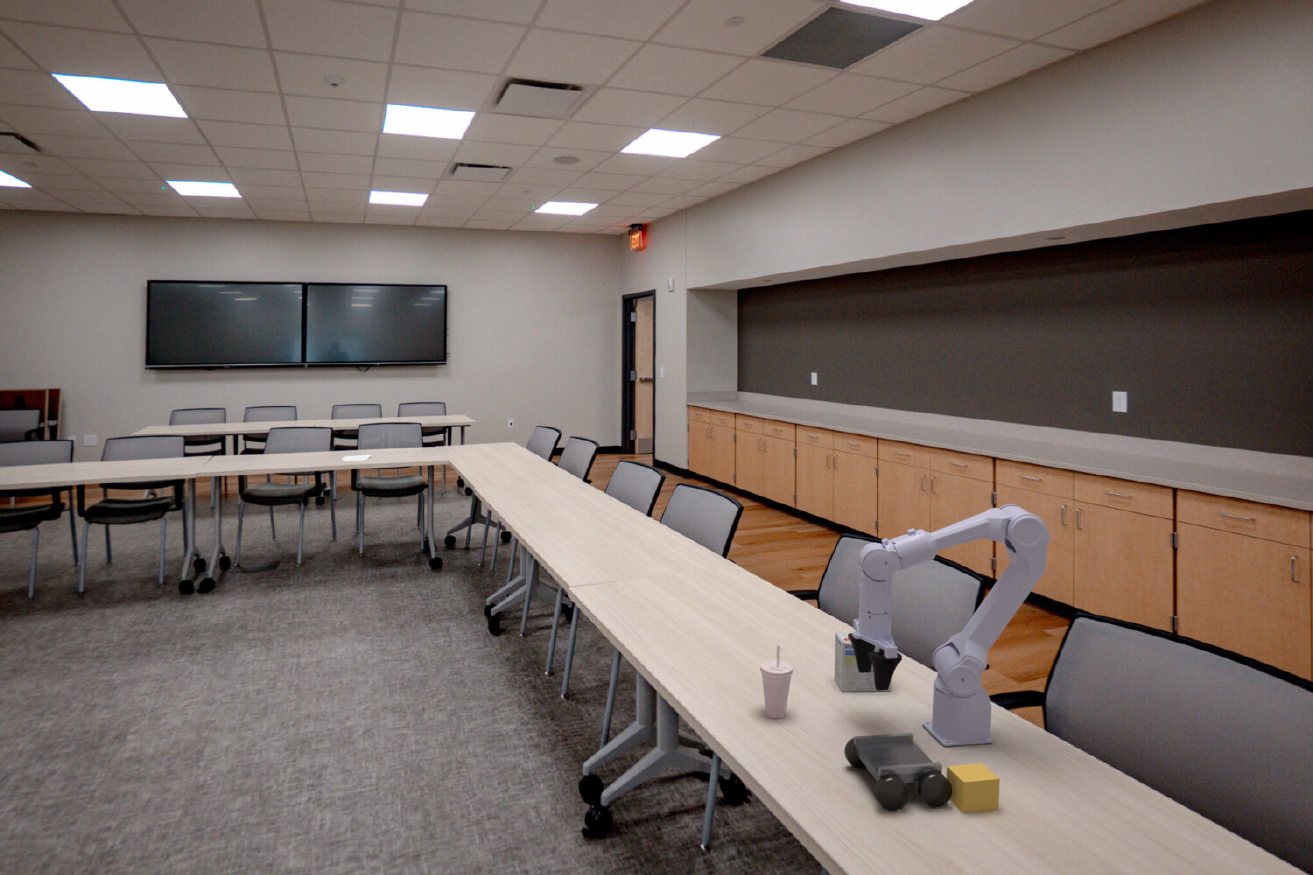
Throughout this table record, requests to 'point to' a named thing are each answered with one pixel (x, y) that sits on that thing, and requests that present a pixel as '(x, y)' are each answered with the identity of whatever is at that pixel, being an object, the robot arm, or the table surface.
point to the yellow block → (973, 787)
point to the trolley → (898, 769)
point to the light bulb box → (851, 667)
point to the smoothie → (776, 685)
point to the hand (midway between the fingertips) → (872, 680)
